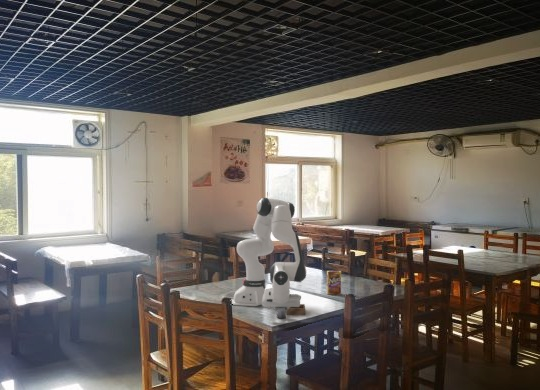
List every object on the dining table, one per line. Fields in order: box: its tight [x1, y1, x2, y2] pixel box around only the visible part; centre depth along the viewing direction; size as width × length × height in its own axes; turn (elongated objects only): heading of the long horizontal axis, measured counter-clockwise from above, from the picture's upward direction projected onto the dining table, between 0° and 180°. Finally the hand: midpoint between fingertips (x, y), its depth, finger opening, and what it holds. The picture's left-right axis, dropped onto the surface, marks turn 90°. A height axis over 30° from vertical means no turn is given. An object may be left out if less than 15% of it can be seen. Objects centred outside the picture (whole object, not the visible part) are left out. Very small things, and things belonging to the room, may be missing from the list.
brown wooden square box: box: [286, 303, 306, 316], centre depth 262 cm, size 10×10×4 cm
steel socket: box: [276, 307, 287, 319], centre depth 251 cm, size 5×5×8 cm
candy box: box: [326, 270, 342, 295], centre depth 308 cm, size 9×4×15 cm, turn 93°
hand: (281, 308), depth 252 cm, fingers closed on steel socket, 5 cm apart
